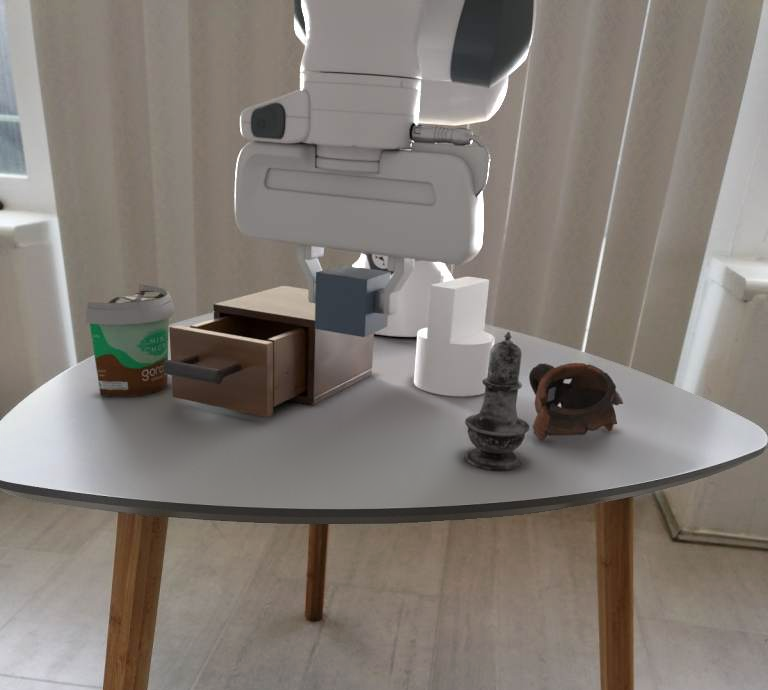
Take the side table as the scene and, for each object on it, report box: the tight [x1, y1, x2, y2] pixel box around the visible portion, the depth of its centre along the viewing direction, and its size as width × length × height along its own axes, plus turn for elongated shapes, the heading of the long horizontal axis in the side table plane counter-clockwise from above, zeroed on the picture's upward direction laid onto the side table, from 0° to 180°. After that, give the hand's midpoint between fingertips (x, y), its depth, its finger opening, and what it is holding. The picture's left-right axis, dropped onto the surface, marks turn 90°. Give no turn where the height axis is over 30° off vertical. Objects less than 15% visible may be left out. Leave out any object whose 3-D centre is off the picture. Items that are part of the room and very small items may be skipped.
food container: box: [85, 283, 176, 398], centre depth 90 cm, size 12×6×10 cm, turn 168°
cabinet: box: [212, 285, 375, 406], centre depth 96 cm, size 15×13×9 cm
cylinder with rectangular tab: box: [413, 276, 496, 397], centre depth 97 cm, size 9×9×12 cm
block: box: [315, 264, 390, 337], centre depth 68 cm, size 4×4×4 cm
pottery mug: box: [529, 362, 624, 442], centre depth 85 cm, size 12×10×8 cm
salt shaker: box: [464, 331, 530, 472], centre depth 75 cm, size 6×6×12 cm
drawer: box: [163, 314, 309, 418], centre depth 86 cm, size 18×11×7 cm, turn 155°
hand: (352, 307), depth 68 cm, fingers closed on block, 4 cm apart
